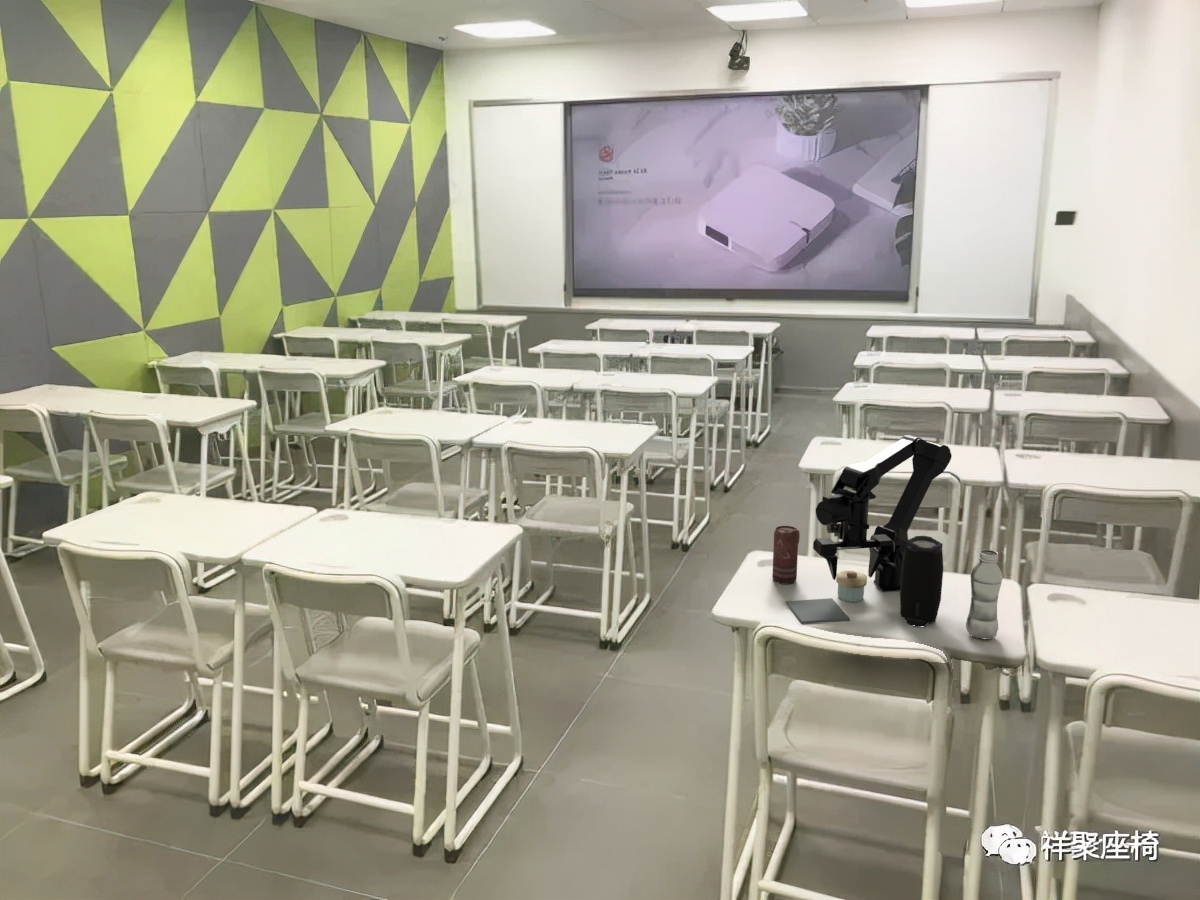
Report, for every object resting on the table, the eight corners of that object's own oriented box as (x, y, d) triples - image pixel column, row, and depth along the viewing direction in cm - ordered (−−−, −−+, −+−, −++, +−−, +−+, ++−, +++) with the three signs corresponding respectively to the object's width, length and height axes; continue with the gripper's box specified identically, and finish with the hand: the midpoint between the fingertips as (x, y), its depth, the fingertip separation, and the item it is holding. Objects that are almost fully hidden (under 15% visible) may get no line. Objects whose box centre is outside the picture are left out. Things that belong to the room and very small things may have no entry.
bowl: (857, 591, 236) (858, 576, 235) (867, 601, 230) (868, 586, 229) (834, 593, 235) (834, 578, 234) (843, 603, 229) (844, 587, 228)
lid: (859, 575, 236) (860, 566, 235) (871, 587, 229) (871, 577, 228) (831, 577, 235) (832, 568, 234) (842, 588, 228) (843, 579, 227)
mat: (831, 600, 231) (832, 598, 231) (849, 620, 220) (850, 618, 220) (785, 603, 230) (786, 601, 229) (801, 623, 218) (801, 621, 218)
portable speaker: (909, 609, 226) (915, 531, 221) (946, 621, 219) (953, 541, 214) (890, 619, 220) (896, 540, 215) (927, 632, 213) (934, 551, 208)
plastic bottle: (994, 645, 207) (1003, 560, 202) (961, 638, 210) (969, 554, 205) (999, 634, 212) (1008, 550, 207) (967, 627, 215) (975, 545, 210)
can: (799, 584, 241) (801, 532, 237) (774, 584, 241) (776, 532, 237) (795, 575, 247) (797, 524, 243) (770, 575, 247) (772, 524, 243)
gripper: (878, 505, 236) (875, 563, 240) (806, 509, 234) (804, 568, 238) (897, 519, 226) (893, 580, 230) (822, 524, 223) (819, 585, 227)
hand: (851, 578), depth 231 cm, fingers open, 9 cm apart
